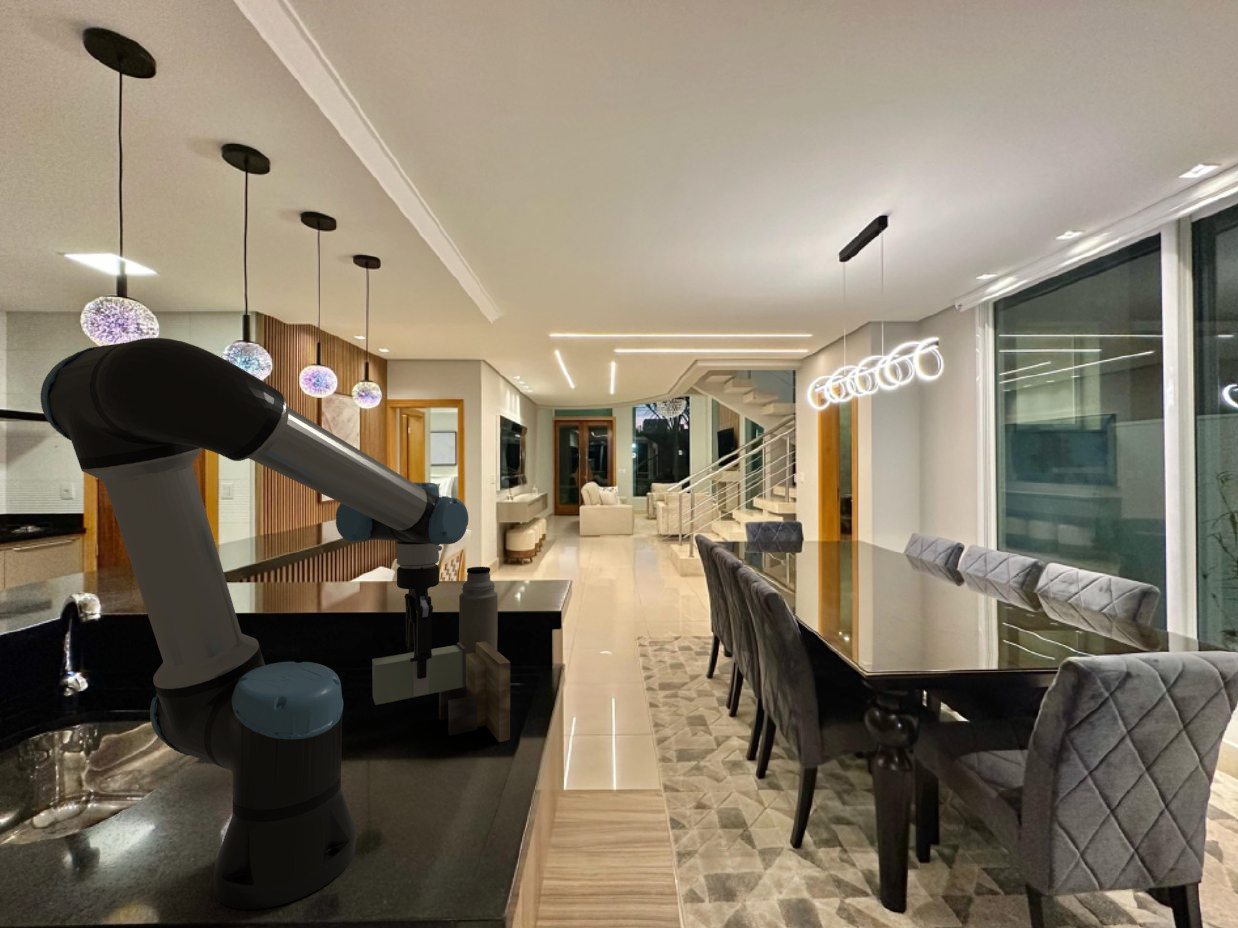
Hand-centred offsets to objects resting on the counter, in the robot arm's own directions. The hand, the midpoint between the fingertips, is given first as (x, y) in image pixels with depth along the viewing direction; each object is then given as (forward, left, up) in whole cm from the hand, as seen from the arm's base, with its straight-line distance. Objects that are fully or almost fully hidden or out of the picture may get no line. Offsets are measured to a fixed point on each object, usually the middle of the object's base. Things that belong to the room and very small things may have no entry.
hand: (418, 689), depth 108 cm
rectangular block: (0, 0, 0) cm, 1 cm away
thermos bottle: (+14, +10, -8) cm, 19 cm away
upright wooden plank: (+9, -4, -8) cm, 13 cm away
